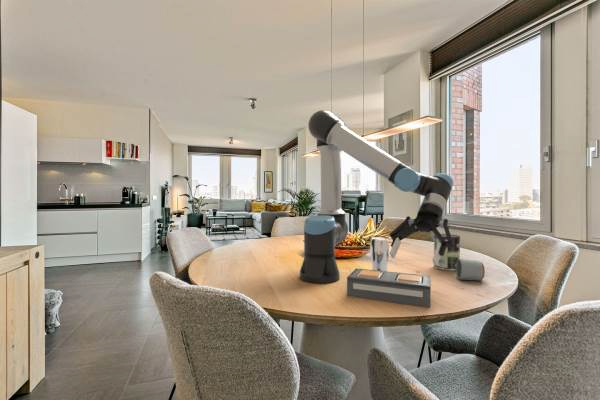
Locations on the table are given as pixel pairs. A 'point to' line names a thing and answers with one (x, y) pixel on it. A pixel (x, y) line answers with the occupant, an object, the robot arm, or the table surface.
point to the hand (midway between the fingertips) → (412, 259)
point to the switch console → (390, 288)
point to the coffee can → (448, 253)
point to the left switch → (370, 274)
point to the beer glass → (379, 253)
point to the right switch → (409, 278)
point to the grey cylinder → (469, 270)
